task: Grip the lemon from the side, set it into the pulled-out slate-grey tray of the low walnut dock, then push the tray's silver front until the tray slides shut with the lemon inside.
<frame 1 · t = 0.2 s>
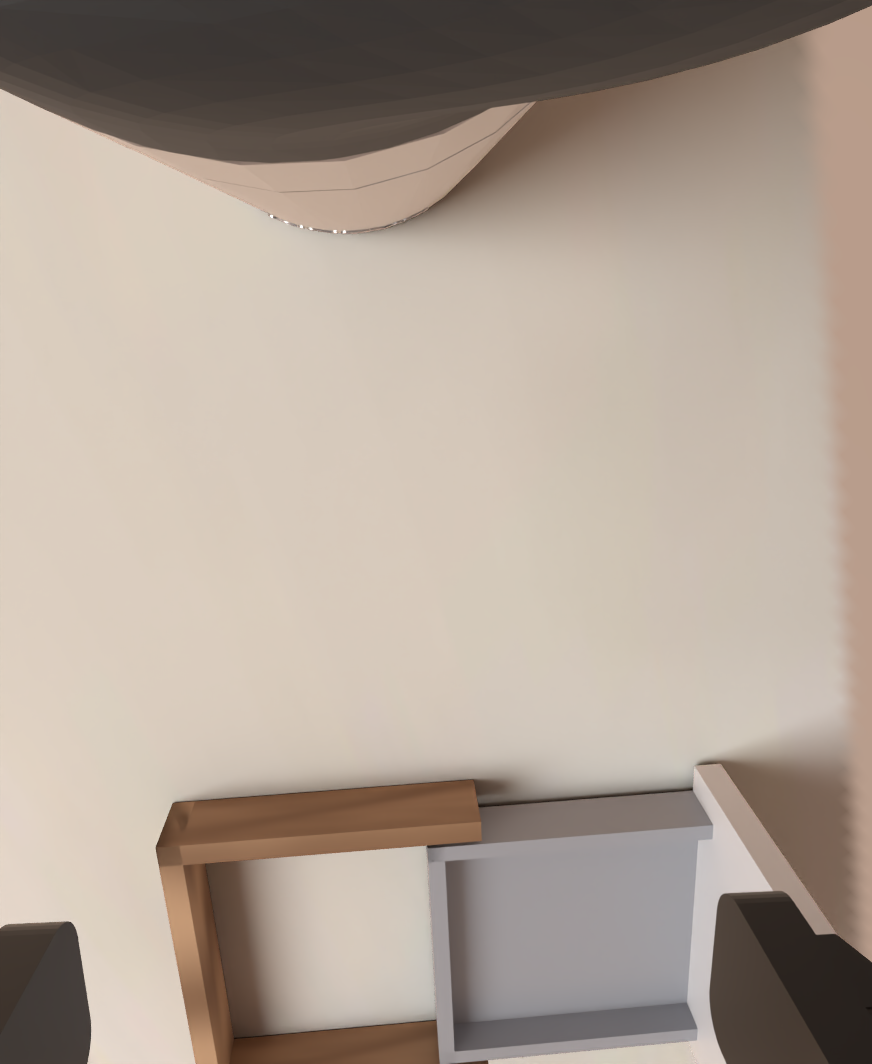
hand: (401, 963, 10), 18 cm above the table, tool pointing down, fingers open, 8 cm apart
dock: (356, 923, 32), on the table
tray: (604, 1017, 27), point 5 cm above the table, slide at 8.0 cm
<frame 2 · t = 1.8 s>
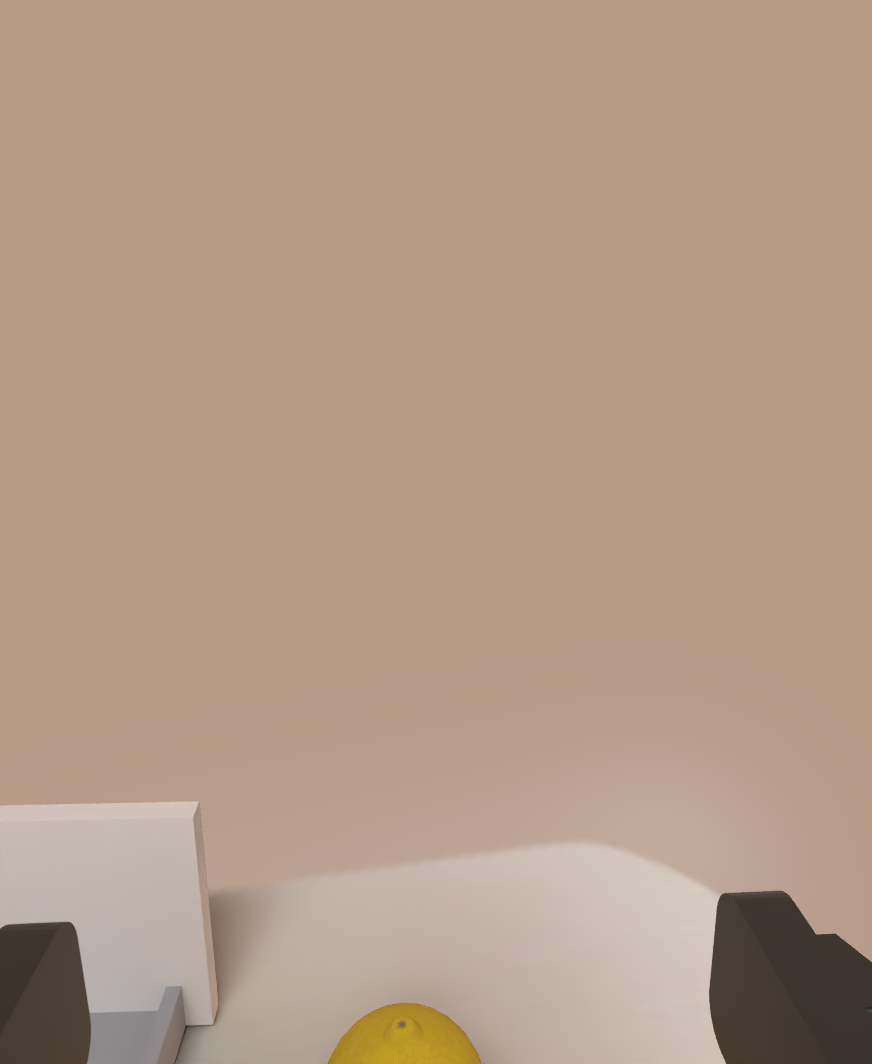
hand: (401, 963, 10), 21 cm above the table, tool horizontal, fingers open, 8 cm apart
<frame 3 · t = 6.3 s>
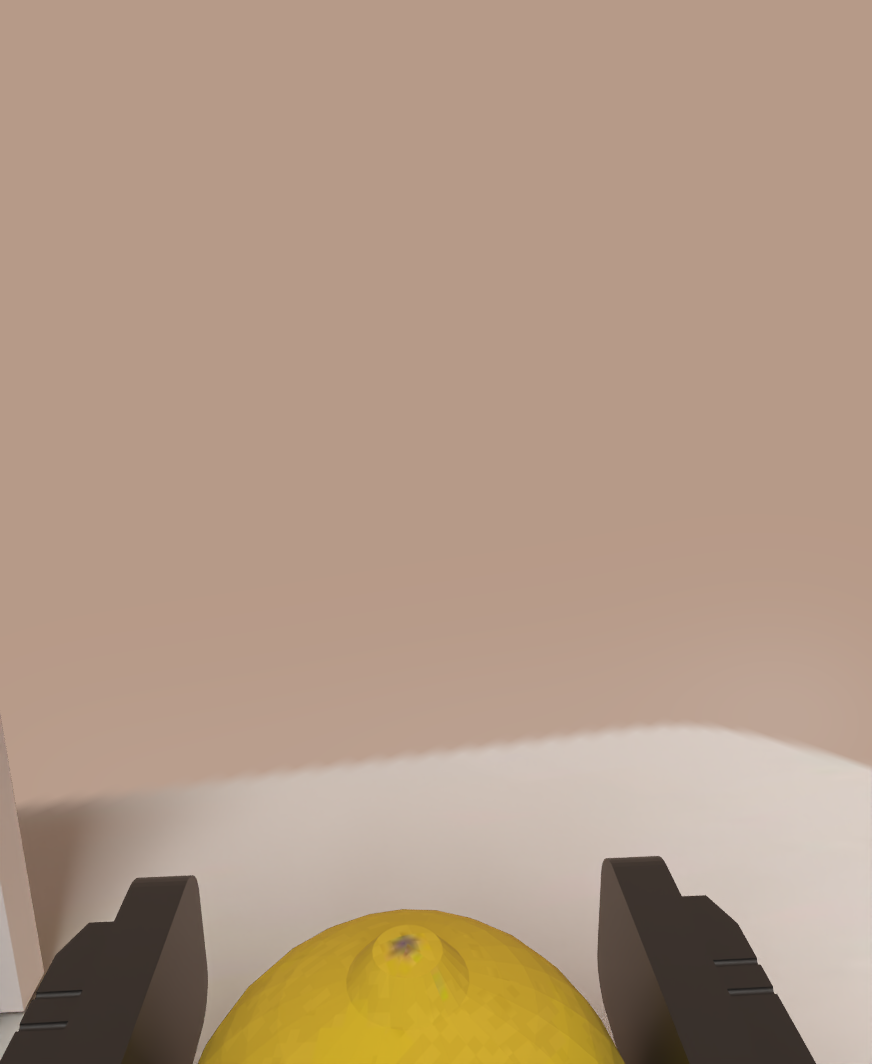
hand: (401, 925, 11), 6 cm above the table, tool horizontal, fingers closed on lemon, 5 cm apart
when the fingers open (8 cm above the table, at t = 11.8 s): lemon stays where it is, resting on tray.
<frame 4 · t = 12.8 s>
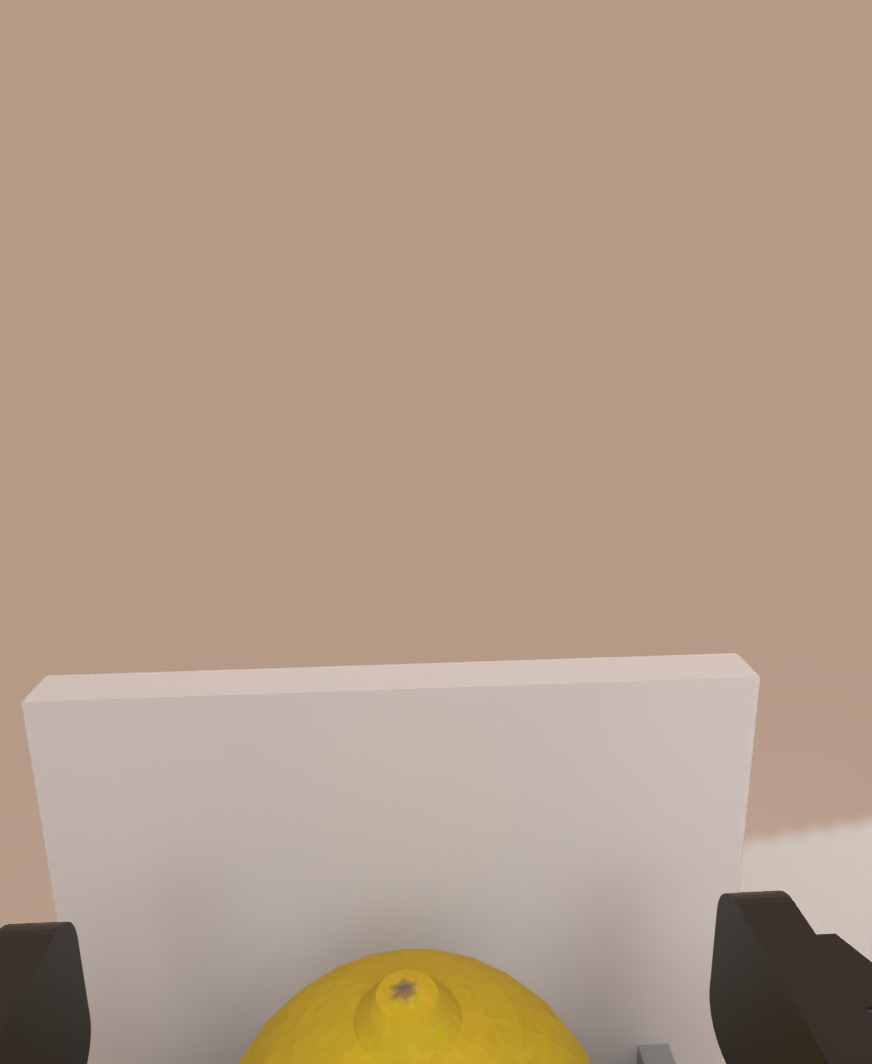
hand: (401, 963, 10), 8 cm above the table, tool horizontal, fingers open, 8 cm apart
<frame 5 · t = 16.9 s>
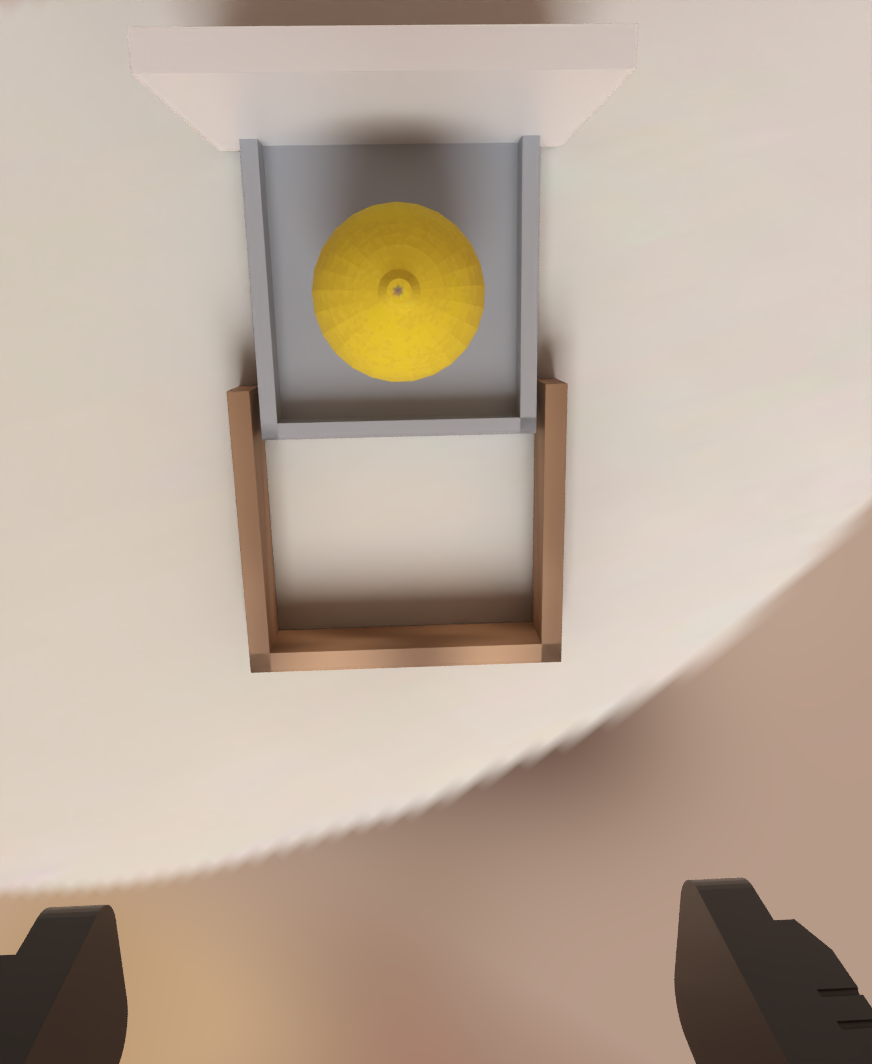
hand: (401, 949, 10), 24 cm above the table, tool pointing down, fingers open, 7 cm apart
lemon: (398, 297, 30), point 1 cm above the table, touching tray
dock: (402, 501, 33), on the table
tray: (394, 275, 26), point 5 cm above the table, slide at 8.1 cm, touching lemon
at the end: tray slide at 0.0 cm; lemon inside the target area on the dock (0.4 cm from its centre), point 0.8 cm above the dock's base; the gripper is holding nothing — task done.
